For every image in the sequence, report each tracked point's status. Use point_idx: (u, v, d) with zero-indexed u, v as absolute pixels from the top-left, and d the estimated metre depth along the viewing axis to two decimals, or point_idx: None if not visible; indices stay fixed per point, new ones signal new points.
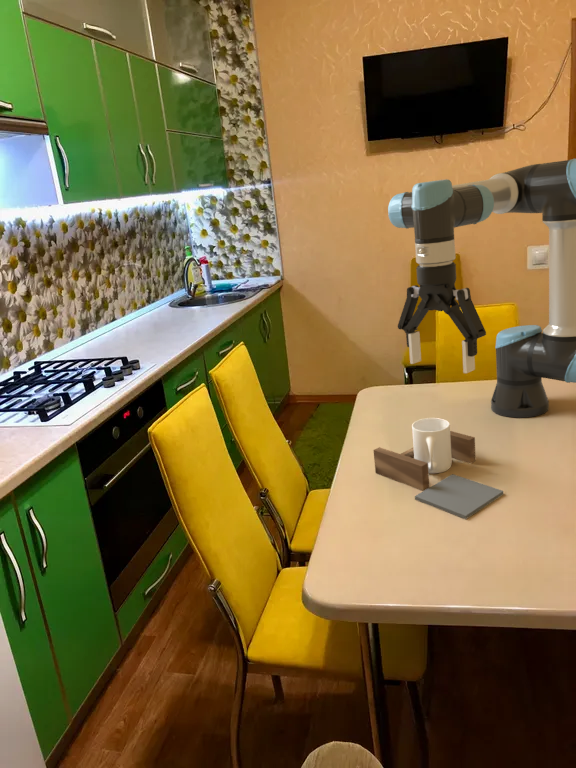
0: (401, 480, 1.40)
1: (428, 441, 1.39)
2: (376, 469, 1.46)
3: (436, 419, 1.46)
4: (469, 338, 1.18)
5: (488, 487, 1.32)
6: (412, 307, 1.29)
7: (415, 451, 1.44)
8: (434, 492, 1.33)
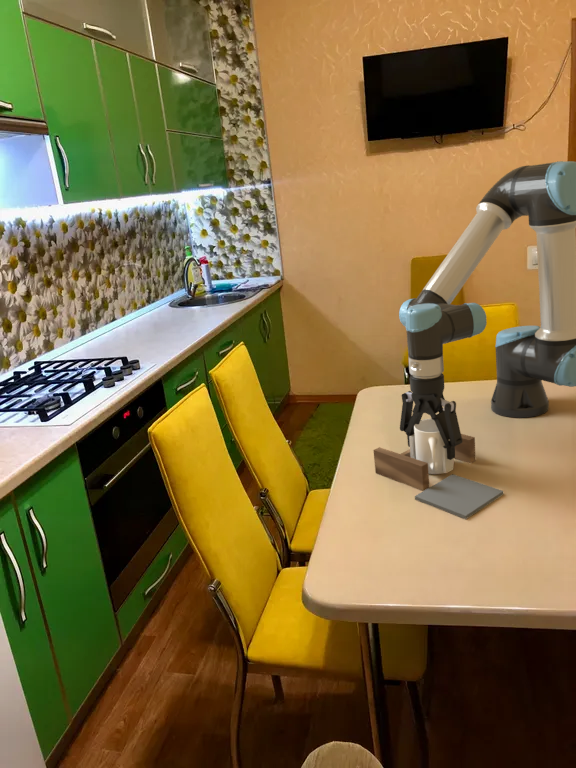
0: (401, 480, 1.40)
1: (430, 442, 1.38)
2: (376, 469, 1.46)
3: None
4: (448, 446, 1.37)
5: (488, 487, 1.32)
6: (409, 410, 1.46)
7: (417, 452, 1.44)
8: (434, 492, 1.33)
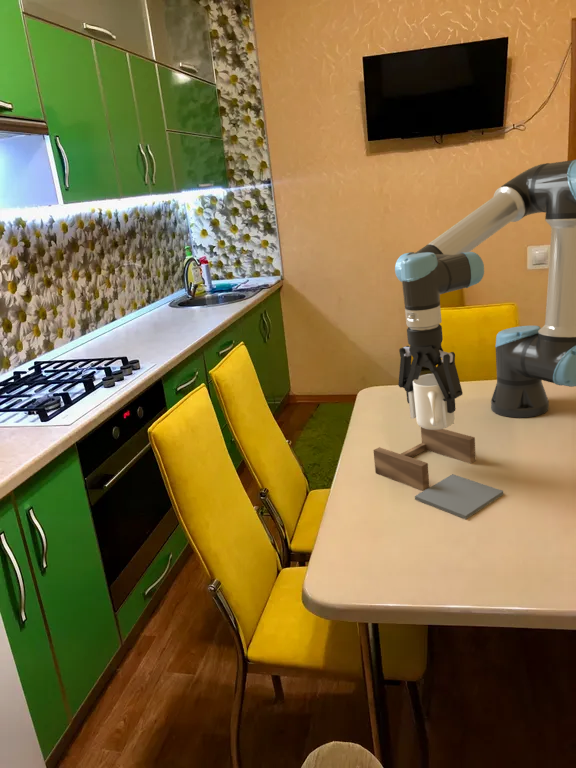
0: (401, 480, 1.40)
1: (430, 395, 1.35)
2: (376, 469, 1.46)
3: None
4: (448, 398, 1.34)
5: (488, 487, 1.32)
6: (407, 366, 1.42)
7: (417, 407, 1.40)
8: (434, 492, 1.33)
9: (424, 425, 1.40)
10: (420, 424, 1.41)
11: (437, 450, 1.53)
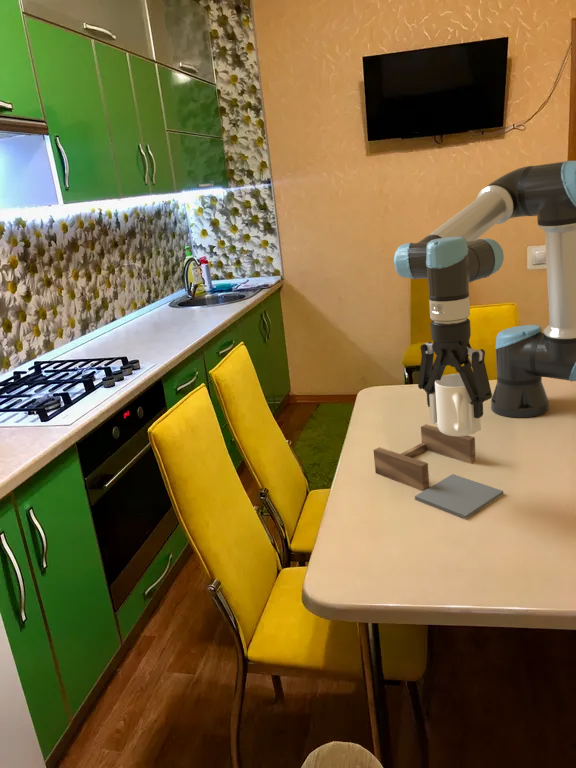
0: (401, 480, 1.40)
1: (455, 398, 1.20)
2: (376, 469, 1.46)
3: None
4: (475, 402, 1.19)
5: (488, 487, 1.32)
6: (429, 365, 1.27)
7: (439, 411, 1.25)
8: (434, 492, 1.33)
9: (447, 431, 1.25)
10: (442, 430, 1.26)
11: (437, 450, 1.53)
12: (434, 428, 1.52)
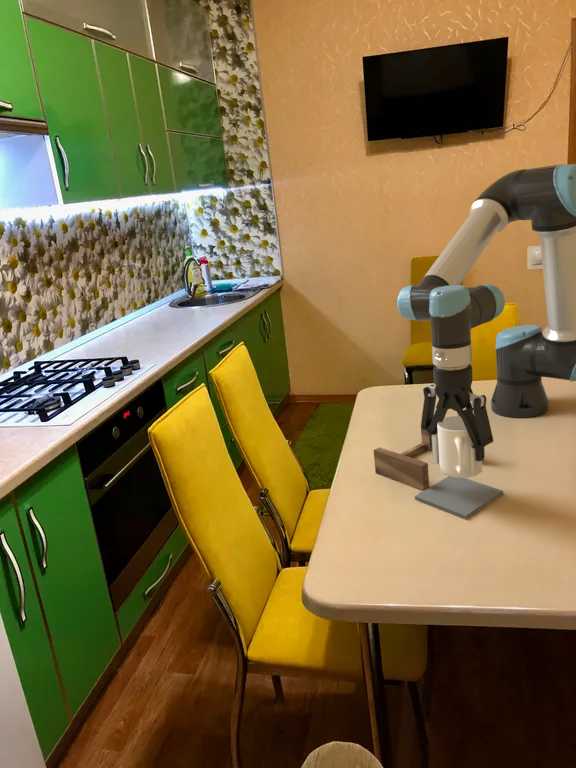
0: (401, 480, 1.40)
1: (457, 441, 1.23)
2: (376, 469, 1.46)
3: None
4: (477, 446, 1.21)
5: (488, 487, 1.32)
6: (431, 407, 1.30)
7: (441, 453, 1.28)
8: (434, 492, 1.33)
9: (449, 472, 1.27)
10: (444, 471, 1.28)
11: None
12: None
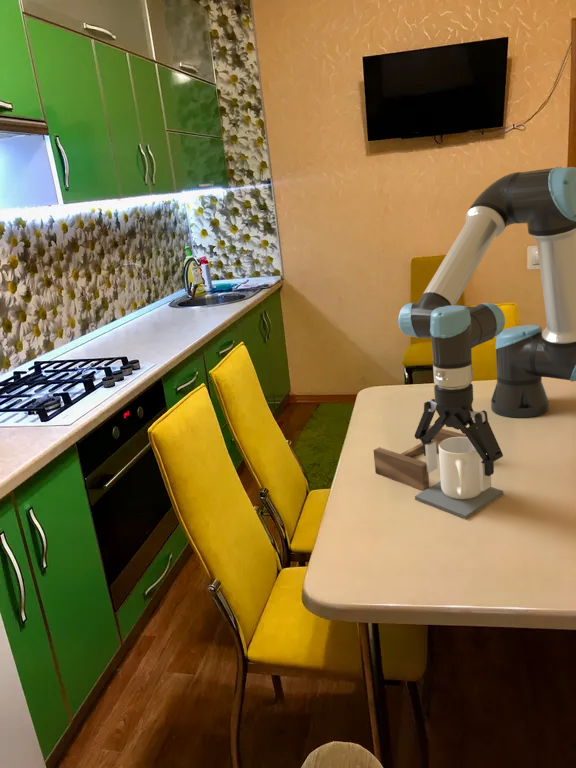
0: (401, 480, 1.40)
1: (458, 464, 1.25)
2: (376, 469, 1.46)
3: (465, 438, 1.32)
4: (486, 460, 1.21)
5: None
6: (429, 420, 1.32)
7: (442, 474, 1.30)
8: (434, 492, 1.33)
9: (450, 494, 1.29)
10: (445, 492, 1.30)
11: (437, 450, 1.53)
12: None
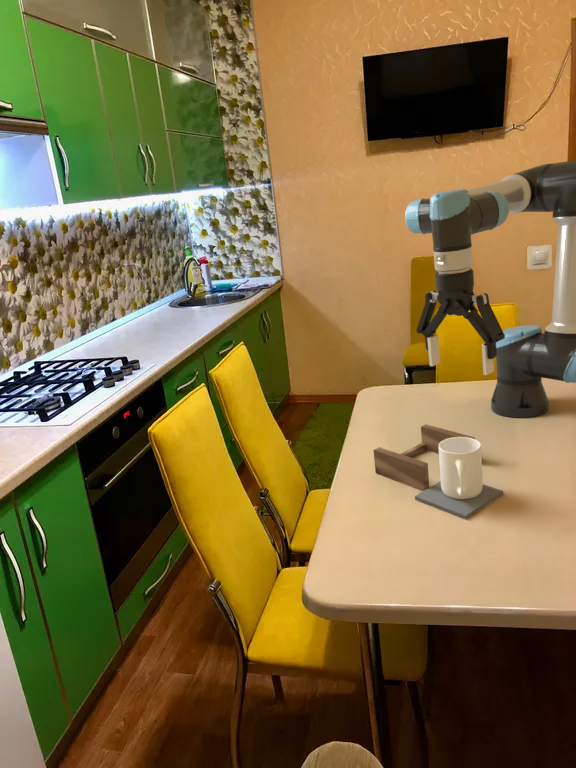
0: (401, 480, 1.40)
1: (458, 464, 1.25)
2: (376, 469, 1.46)
3: (465, 438, 1.32)
4: (489, 342, 1.22)
5: (488, 487, 1.32)
6: (430, 312, 1.33)
7: (442, 474, 1.30)
8: (434, 492, 1.33)
9: (450, 494, 1.29)
10: (445, 492, 1.30)
11: (437, 450, 1.53)
12: (434, 428, 1.52)
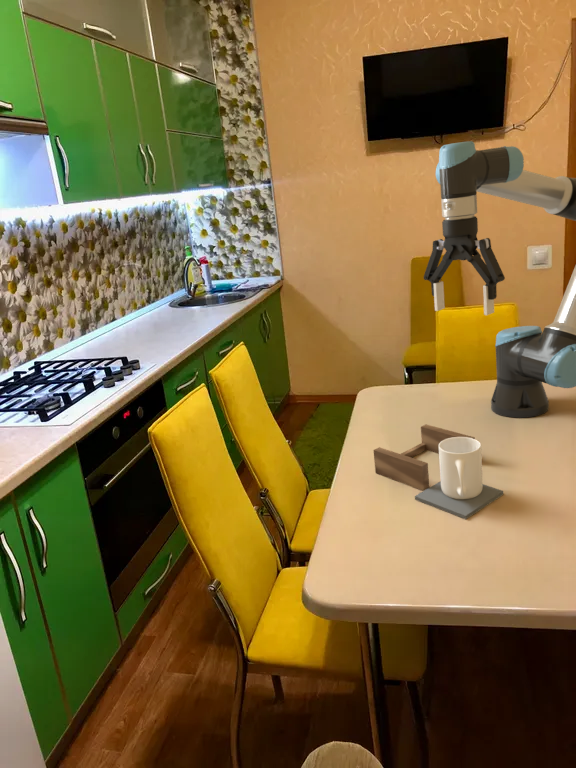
0: (401, 480, 1.40)
1: (458, 464, 1.25)
2: (376, 469, 1.46)
3: (465, 438, 1.32)
4: (490, 282, 1.33)
5: (488, 487, 1.32)
6: (437, 259, 1.44)
7: (442, 474, 1.30)
8: (434, 492, 1.33)
9: (450, 494, 1.29)
10: (445, 492, 1.30)
11: (437, 450, 1.53)
12: (434, 428, 1.52)
